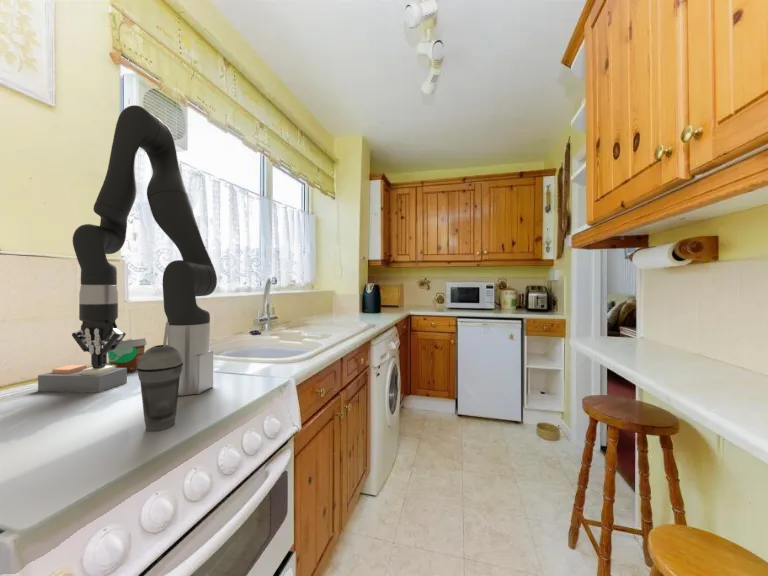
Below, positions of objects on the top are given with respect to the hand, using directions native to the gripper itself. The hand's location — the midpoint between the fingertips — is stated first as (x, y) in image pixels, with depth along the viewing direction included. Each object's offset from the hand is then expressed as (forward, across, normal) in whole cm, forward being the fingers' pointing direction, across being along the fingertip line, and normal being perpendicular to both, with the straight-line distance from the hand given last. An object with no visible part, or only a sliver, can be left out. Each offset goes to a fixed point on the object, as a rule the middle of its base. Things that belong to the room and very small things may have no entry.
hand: (98, 367), depth 82 cm
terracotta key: (+4, +8, 0) cm, 9 cm away
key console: (+5, +4, 0) cm, 6 cm away
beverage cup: (+5, -33, +21) cm, 40 cm away
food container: (+5, +7, -14) cm, 17 cm away
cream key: (+3, 0, 0) cm, 3 cm away
